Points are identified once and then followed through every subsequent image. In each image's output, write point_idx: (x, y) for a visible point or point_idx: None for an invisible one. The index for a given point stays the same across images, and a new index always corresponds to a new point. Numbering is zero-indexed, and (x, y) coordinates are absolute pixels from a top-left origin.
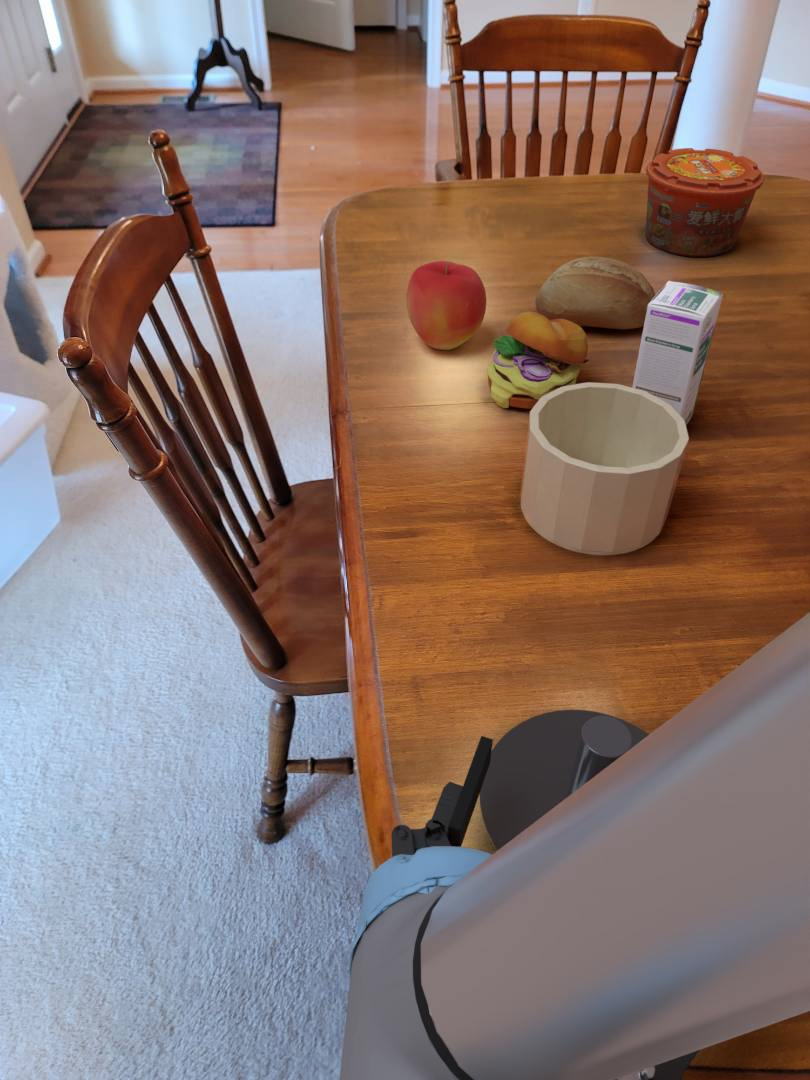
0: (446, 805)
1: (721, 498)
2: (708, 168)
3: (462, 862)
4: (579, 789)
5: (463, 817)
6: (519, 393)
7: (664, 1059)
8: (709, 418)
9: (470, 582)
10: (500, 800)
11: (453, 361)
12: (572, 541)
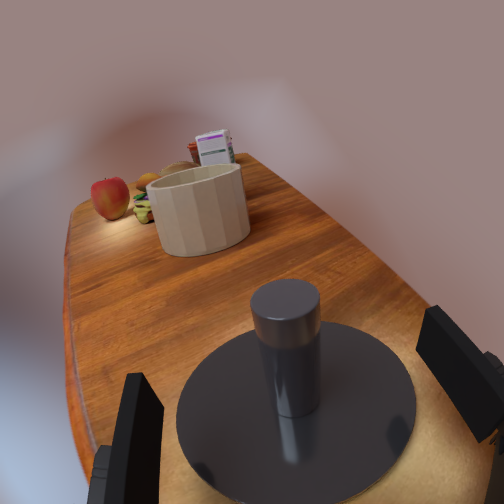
0: (103, 478)
1: (273, 210)
2: None
3: None
4: None
5: (122, 492)
6: (150, 210)
7: None
8: (250, 194)
9: (137, 294)
10: (204, 442)
11: (120, 220)
12: (198, 247)
